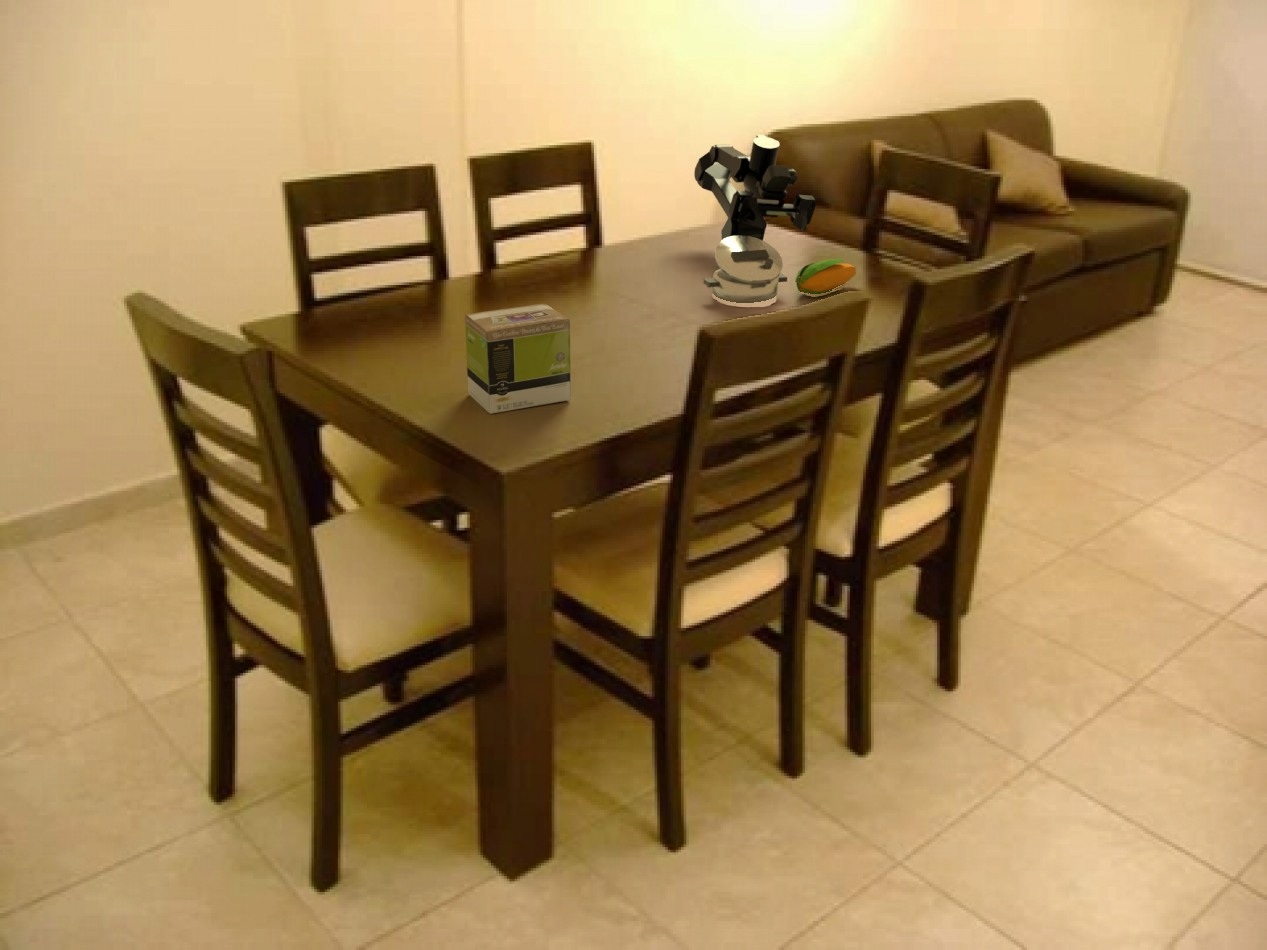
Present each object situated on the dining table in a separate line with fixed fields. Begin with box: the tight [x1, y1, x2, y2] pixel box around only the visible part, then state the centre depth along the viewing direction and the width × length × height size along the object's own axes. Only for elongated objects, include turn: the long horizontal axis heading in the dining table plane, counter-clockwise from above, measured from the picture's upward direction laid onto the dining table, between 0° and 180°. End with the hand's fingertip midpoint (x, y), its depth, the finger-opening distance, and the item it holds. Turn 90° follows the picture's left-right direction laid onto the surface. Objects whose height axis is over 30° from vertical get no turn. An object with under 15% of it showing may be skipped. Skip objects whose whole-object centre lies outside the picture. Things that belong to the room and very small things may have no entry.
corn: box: [795, 258, 857, 294], centre depth 265 cm, size 7×8×20 cm
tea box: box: [464, 303, 572, 414], centre depth 200 cm, size 15×10×15 cm
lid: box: [714, 235, 783, 285], centre depth 254 cm, size 15×15×3 cm
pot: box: [703, 268, 788, 303], centre depth 258 cm, size 14×18×5 cm
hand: (785, 228), depth 252 cm, fingers open, 9 cm apart
